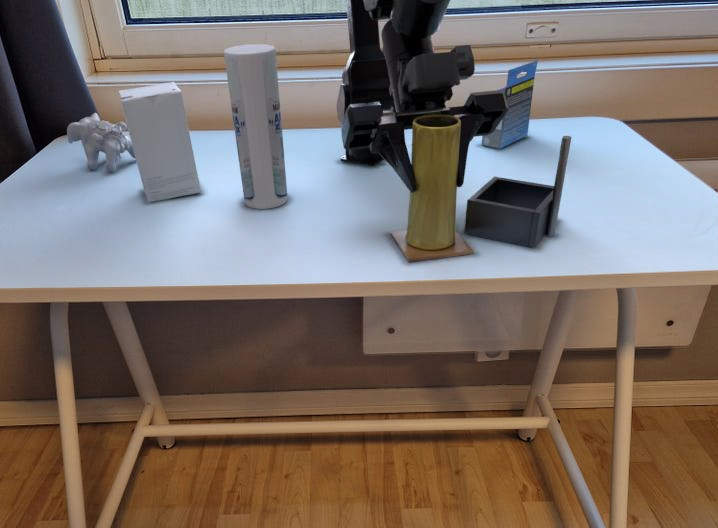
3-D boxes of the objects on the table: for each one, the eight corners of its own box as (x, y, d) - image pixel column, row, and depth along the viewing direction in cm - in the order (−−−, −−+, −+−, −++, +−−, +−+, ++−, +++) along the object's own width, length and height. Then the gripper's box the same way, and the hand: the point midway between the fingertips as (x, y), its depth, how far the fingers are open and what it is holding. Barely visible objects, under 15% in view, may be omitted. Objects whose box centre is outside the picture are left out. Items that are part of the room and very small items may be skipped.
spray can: (244, 193, 94) (224, 45, 82) (288, 190, 94) (274, 42, 83) (243, 211, 89) (222, 55, 77) (289, 207, 89) (275, 52, 78)
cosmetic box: (195, 181, 99) (177, 80, 90) (202, 194, 95) (184, 89, 86) (140, 190, 97) (117, 87, 88) (145, 204, 92) (120, 97, 84)
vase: (409, 227, 81) (413, 111, 73) (458, 231, 80) (467, 113, 71) (401, 248, 76) (404, 128, 68) (452, 253, 75) (462, 130, 67)
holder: (464, 233, 80) (472, 137, 73) (490, 208, 86) (500, 117, 79) (542, 250, 75) (559, 149, 68) (564, 222, 82) (582, 126, 74)
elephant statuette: (126, 174, 103) (114, 126, 99) (56, 175, 104) (41, 127, 100) (145, 155, 111) (135, 109, 106) (79, 156, 112) (66, 111, 107)
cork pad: (390, 234, 81) (390, 231, 81) (450, 226, 82) (450, 223, 82) (408, 262, 74) (409, 259, 74) (473, 253, 76) (473, 250, 75)
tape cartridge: (508, 132, 113) (517, 57, 105) (528, 136, 110) (538, 59, 103) (480, 145, 108) (487, 67, 100) (500, 150, 105) (509, 70, 98)
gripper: (343, 24, 66) (369, 164, 64) (512, 11, 68) (543, 145, 66) (331, 87, 77) (354, 208, 74) (477, 73, 79) (503, 190, 77)
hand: (437, 188), depth 73 cm, fingers closed on vase, 5 cm apart
